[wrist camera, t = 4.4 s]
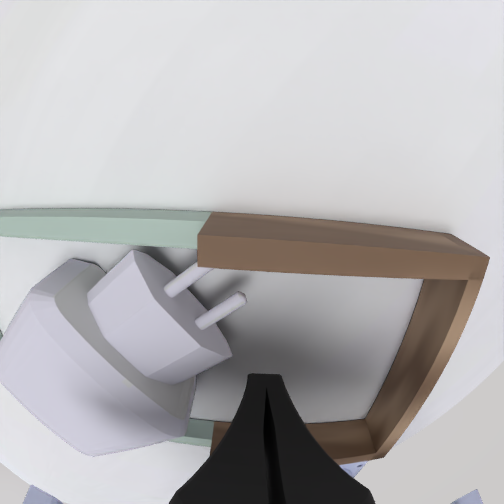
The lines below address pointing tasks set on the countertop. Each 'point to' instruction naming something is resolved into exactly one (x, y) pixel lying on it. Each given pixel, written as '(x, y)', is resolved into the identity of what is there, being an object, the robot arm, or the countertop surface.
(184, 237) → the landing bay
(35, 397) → the charger
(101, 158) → the countertop surface
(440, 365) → the brown wooden u-shaped frame
